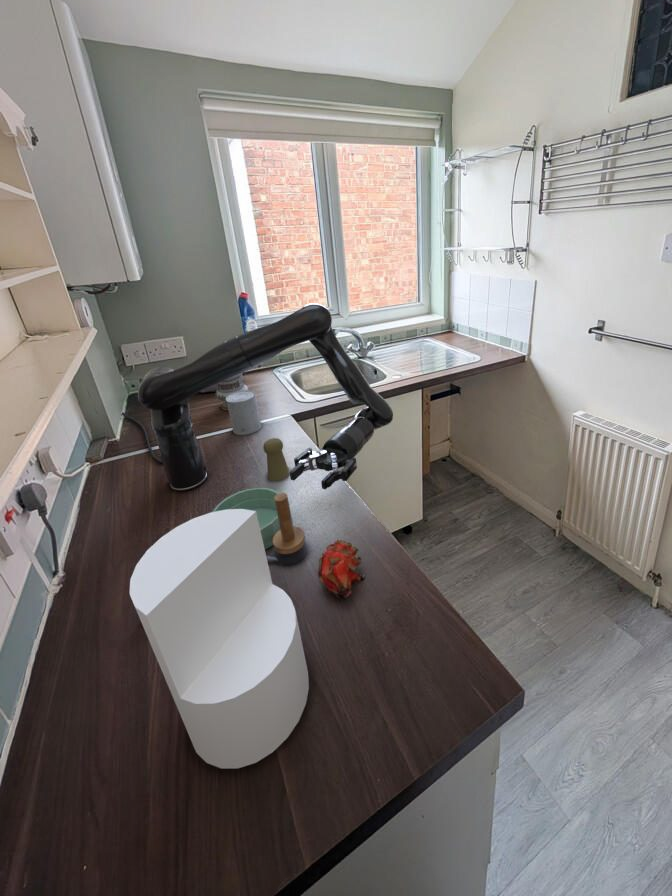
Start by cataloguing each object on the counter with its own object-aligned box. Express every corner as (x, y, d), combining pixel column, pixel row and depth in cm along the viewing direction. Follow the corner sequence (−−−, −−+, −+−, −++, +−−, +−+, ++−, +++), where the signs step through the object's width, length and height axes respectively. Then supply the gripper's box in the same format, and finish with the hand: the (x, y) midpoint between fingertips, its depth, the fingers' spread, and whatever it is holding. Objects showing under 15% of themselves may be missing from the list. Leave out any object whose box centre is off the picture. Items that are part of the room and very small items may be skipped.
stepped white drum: (161, 733, 57) (94, 590, 46) (246, 626, 71) (210, 497, 60) (258, 796, 50) (206, 645, 39) (330, 663, 64) (306, 526, 54)
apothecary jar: (221, 414, 152) (211, 370, 145) (216, 403, 161) (206, 361, 154) (254, 406, 157) (245, 362, 150) (246, 396, 167) (238, 355, 160)
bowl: (199, 544, 90) (193, 523, 88) (251, 500, 103) (246, 481, 101) (254, 567, 83) (249, 545, 81) (302, 517, 96) (298, 497, 94)
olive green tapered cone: (284, 481, 110) (277, 447, 106) (263, 480, 111) (256, 446, 107) (292, 469, 116) (287, 435, 111) (273, 467, 117) (267, 434, 113)
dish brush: (269, 560, 85) (256, 502, 79) (289, 538, 90) (278, 483, 84) (294, 570, 82) (283, 511, 76) (313, 547, 87) (304, 490, 82)
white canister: (227, 432, 138) (219, 400, 133) (245, 420, 146) (238, 389, 142) (249, 436, 135) (242, 403, 130) (267, 423, 143) (260, 392, 138)
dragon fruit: (343, 560, 85) (350, 616, 75) (307, 551, 82) (310, 608, 72) (364, 534, 83) (375, 589, 73) (329, 524, 79) (334, 579, 69)
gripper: (320, 427, 103) (278, 460, 89) (369, 436, 97) (332, 474, 83) (323, 452, 106) (283, 488, 92) (371, 463, 100) (336, 503, 86)
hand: (306, 481), depth 88 cm, fingers open, 8 cm apart
